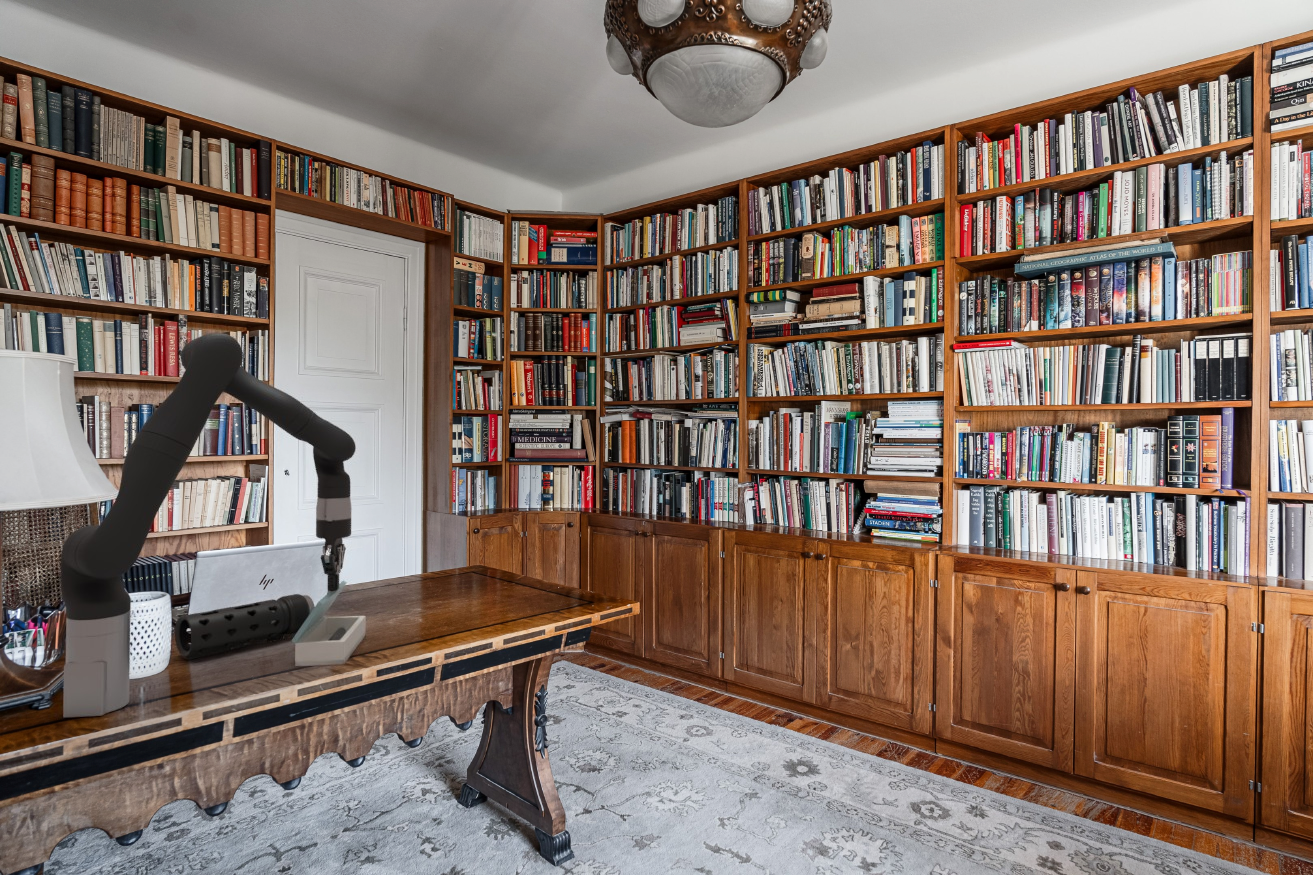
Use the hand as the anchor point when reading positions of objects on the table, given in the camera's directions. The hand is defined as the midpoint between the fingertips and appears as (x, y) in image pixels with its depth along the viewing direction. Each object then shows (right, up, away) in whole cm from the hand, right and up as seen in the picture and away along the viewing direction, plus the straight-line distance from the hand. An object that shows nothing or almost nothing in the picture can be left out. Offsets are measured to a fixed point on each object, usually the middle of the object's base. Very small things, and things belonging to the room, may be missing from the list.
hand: (333, 590), depth 164 cm
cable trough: (0, -14, 0) cm, 14 cm away
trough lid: (-2, -5, -1) cm, 5 cm away
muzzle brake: (-21, -14, +2) cm, 25 cm away
